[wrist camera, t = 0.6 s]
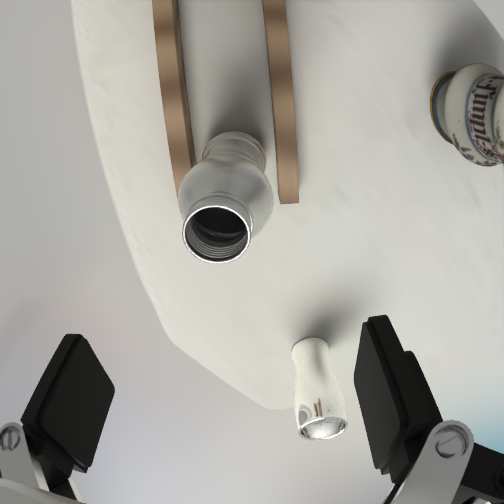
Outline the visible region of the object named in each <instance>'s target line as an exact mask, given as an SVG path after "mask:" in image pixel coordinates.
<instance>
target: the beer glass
mask: <svg viewBox="0 0 504 504" xmlns="http://www.w3.org/2000/svg"><path fill="white" fill-rule="evenodd" d="M291 354H292V358H293V361H294V363H295V367H296V381H295V390H294V409H295V417H296V422H297V427H298V433H299V435H300V436H301V437H302V438H304V439H308V440H324V439H328V438H332V437H334V436H336V435H339V434H340V433H342V432H343V431H344V430H345V429H346V427H347V425H348V423H347V417H346V408H345V402H344V397H343V394H342V390H341V388H340V385H339V383H338V381H337V379H336V376H335V374H334V372H333V370H332V368H331V365H330V362H329V346H328V344H327V342H326V341H324V340H323V339H320V338H306V339H303V340H301V341H299V342H298V343H296V344H295V345H294V347H293V348H292V352H291Z"/></svg>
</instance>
